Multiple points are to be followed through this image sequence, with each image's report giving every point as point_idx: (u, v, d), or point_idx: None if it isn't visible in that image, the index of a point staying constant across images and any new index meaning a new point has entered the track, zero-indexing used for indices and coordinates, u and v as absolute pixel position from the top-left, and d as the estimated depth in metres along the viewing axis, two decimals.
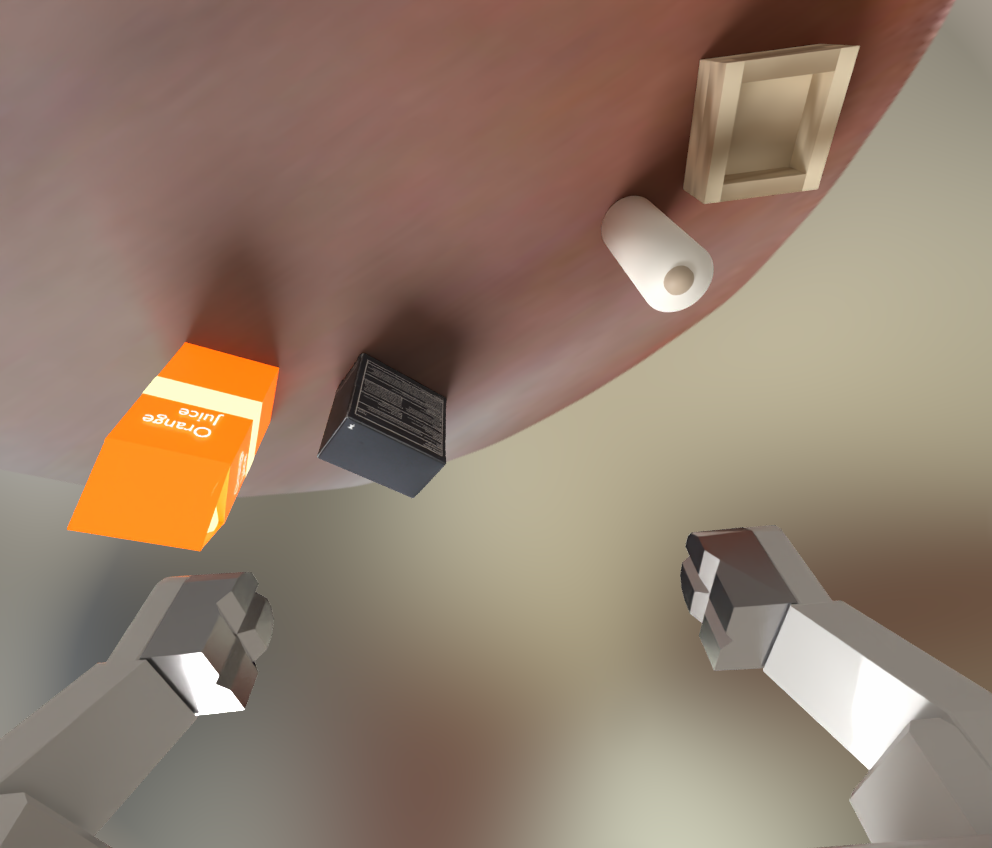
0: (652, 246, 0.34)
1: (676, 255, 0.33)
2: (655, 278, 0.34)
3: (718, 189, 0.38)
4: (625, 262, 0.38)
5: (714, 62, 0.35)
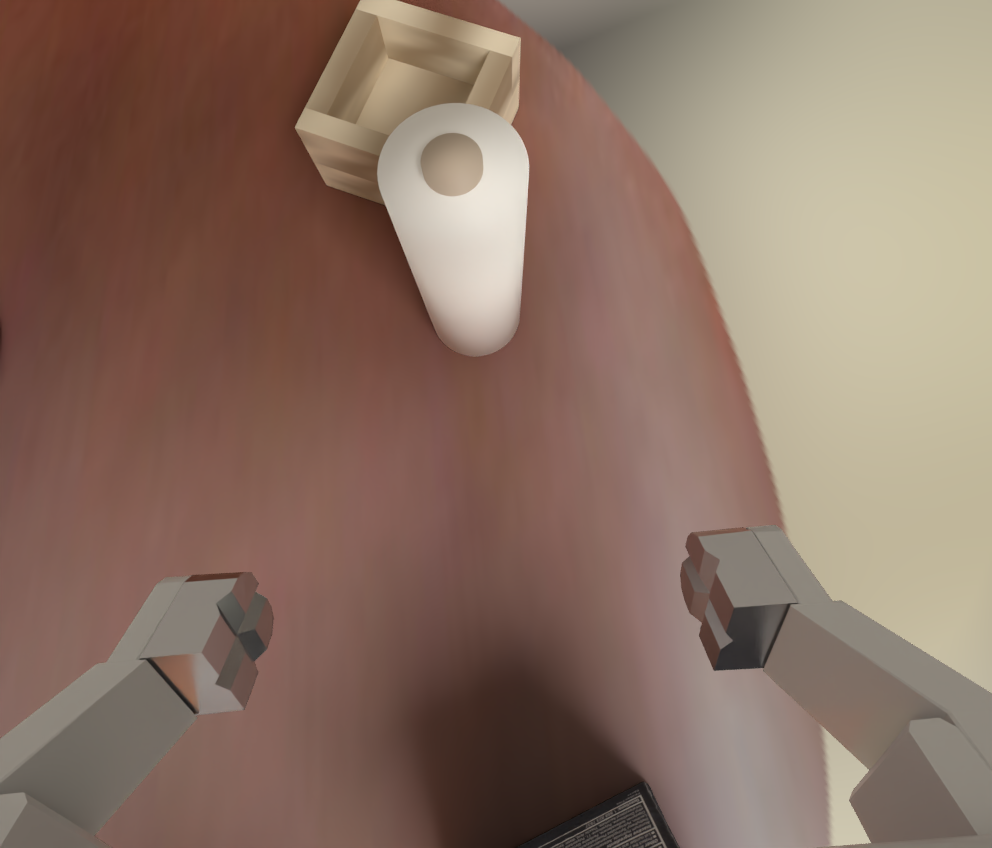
0: None
1: (400, 160, 0.16)
2: (426, 207, 0.16)
3: None
4: (443, 293, 0.20)
5: (310, 154, 0.27)
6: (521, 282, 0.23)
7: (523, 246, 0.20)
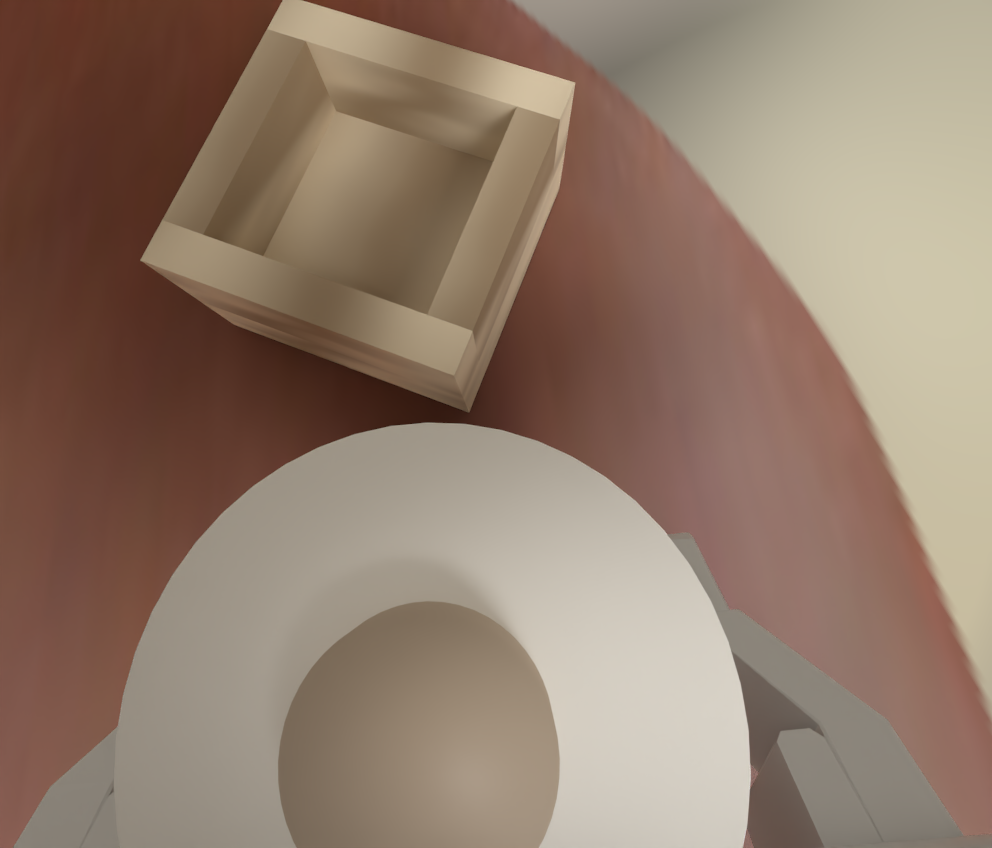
0: None
1: (213, 686, 0.04)
2: None
3: (433, 328, 0.12)
4: None
5: (189, 293, 0.15)
6: None
7: None
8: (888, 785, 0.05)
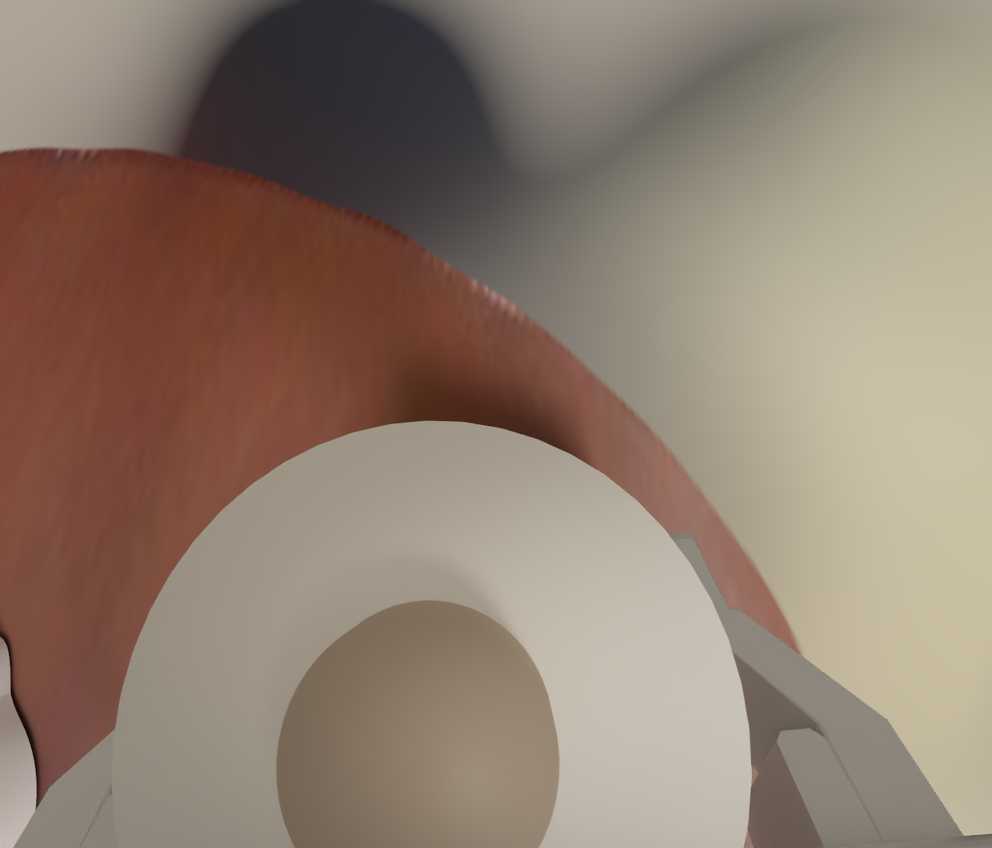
0: None
1: (211, 685, 0.04)
2: None
3: None
4: None
5: None
6: None
7: None
8: (888, 785, 0.05)
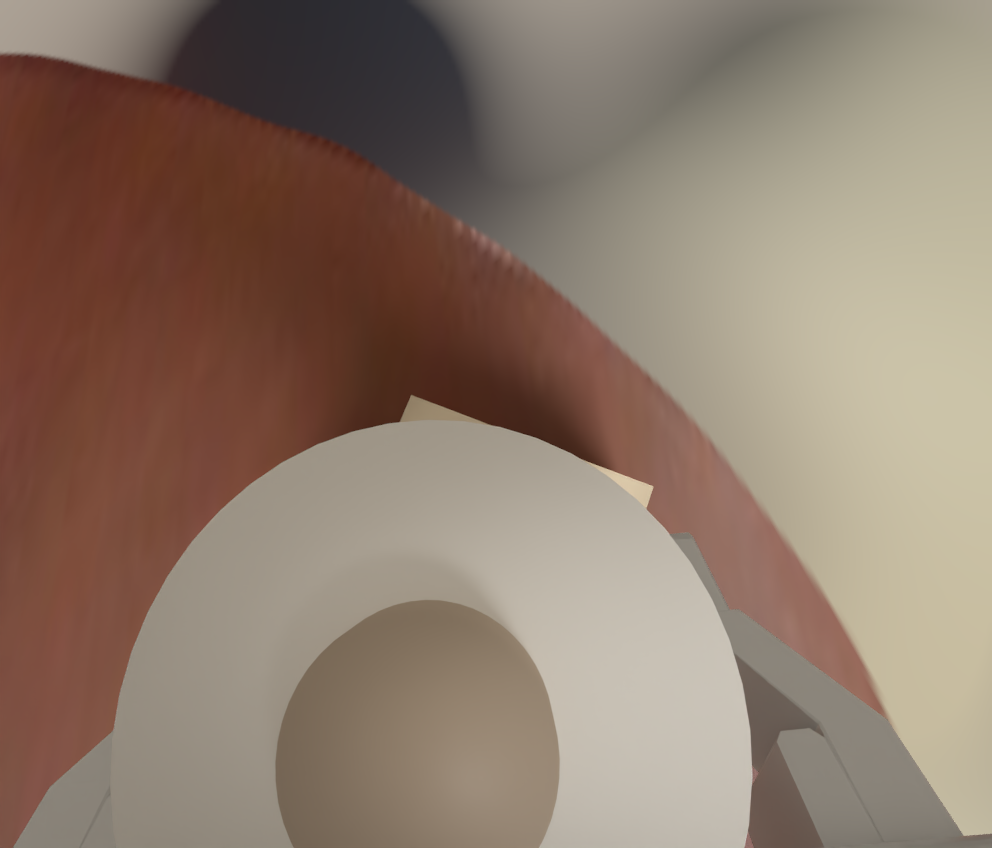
0: None
1: (210, 684, 0.04)
2: None
3: None
4: None
5: None
6: None
7: None
8: (888, 785, 0.05)
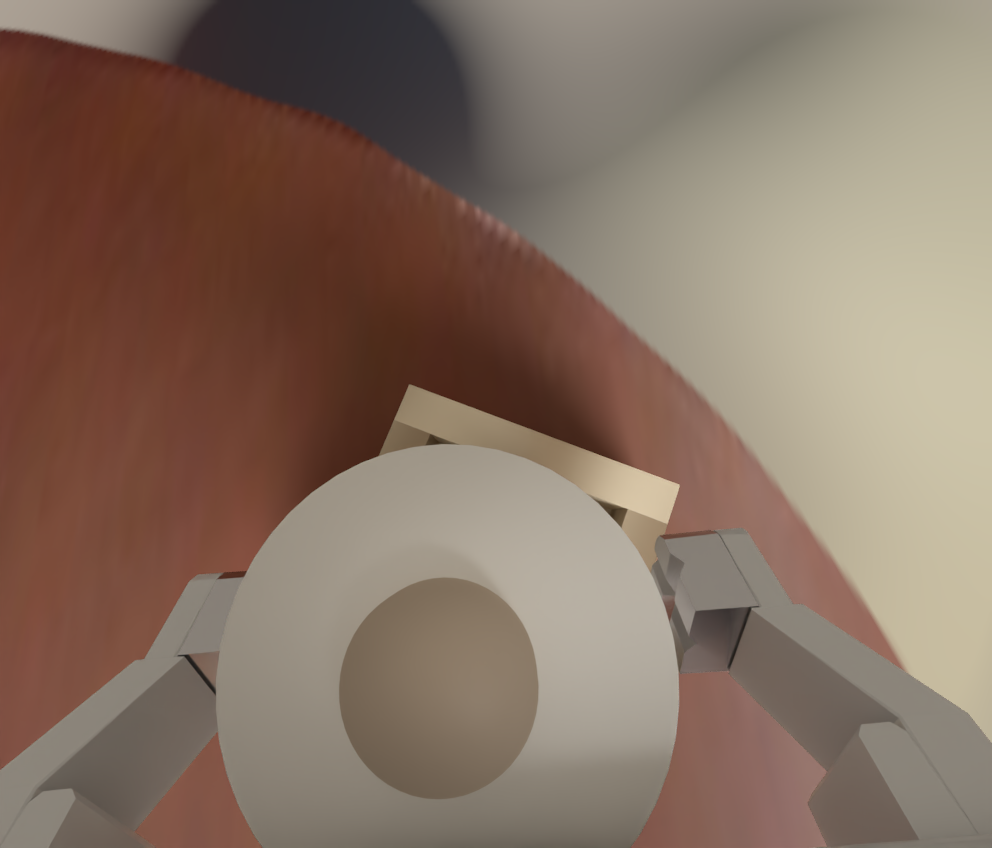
0: None
1: (286, 639, 0.05)
2: (359, 818, 0.05)
3: None
4: None
5: None
6: None
7: None
8: (976, 778, 0.05)
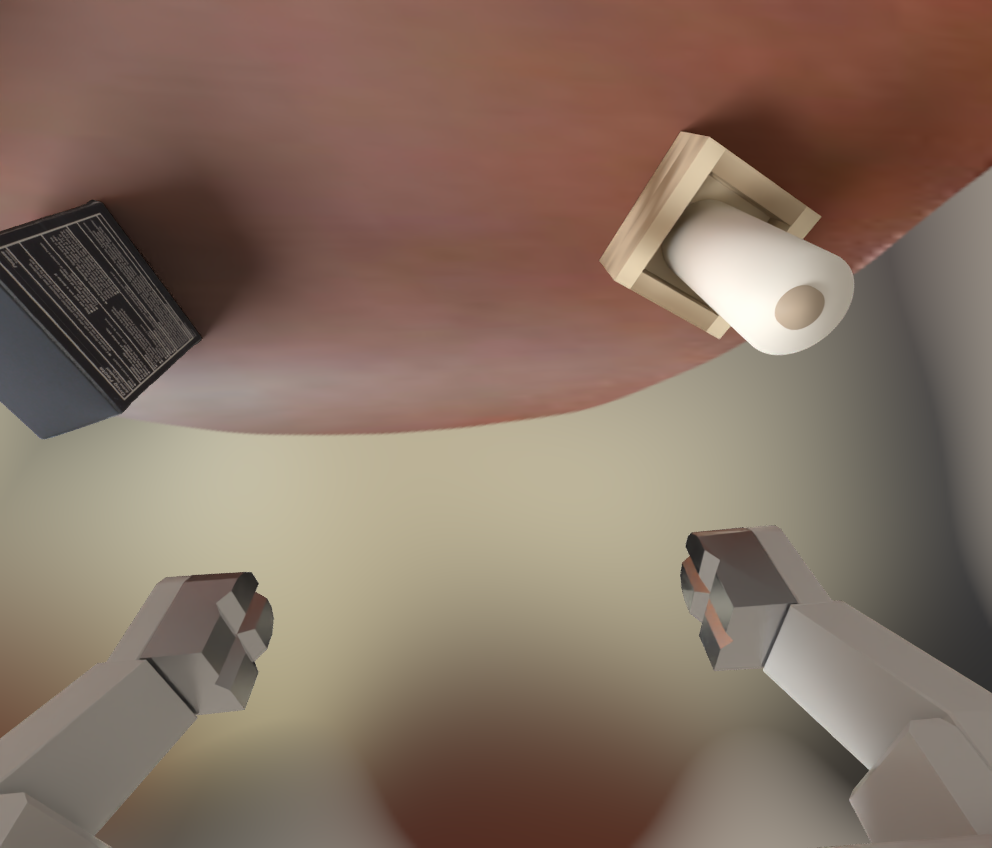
0: (788, 242, 0.23)
1: (822, 269, 0.22)
2: (776, 285, 0.22)
3: (635, 274, 0.31)
4: (717, 256, 0.26)
5: (695, 135, 0.29)
6: None
7: None
8: None
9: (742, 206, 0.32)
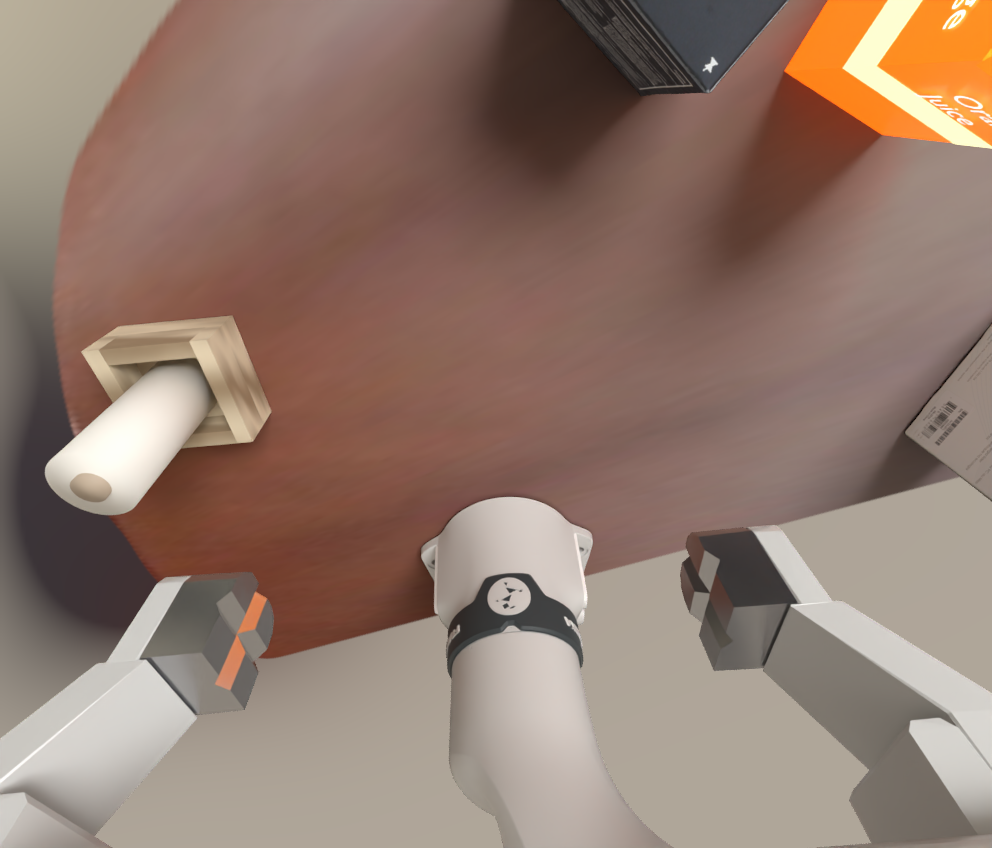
0: (148, 489, 0.32)
1: (114, 505, 0.30)
2: (121, 486, 0.30)
3: (198, 353, 0.35)
4: (168, 437, 0.33)
5: (261, 427, 0.41)
6: (131, 389, 0.34)
7: (103, 416, 0.31)
8: None
9: None
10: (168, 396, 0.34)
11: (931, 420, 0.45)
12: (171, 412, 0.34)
